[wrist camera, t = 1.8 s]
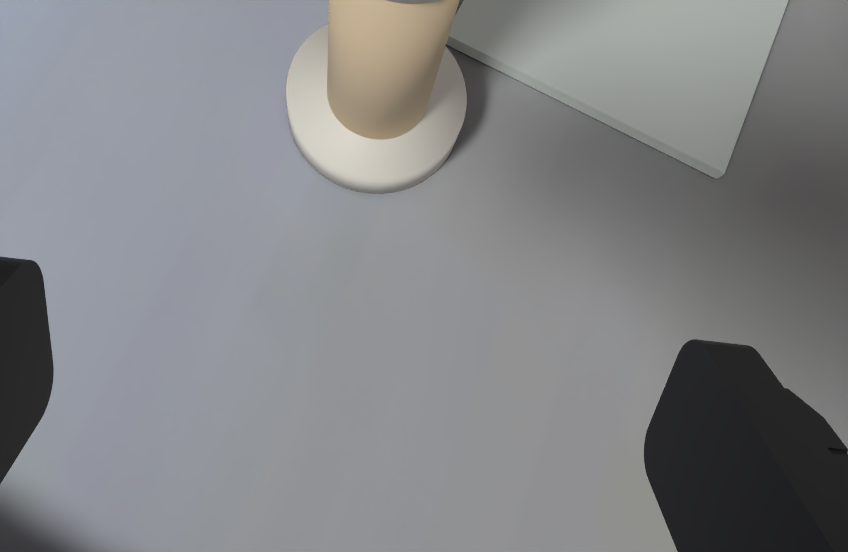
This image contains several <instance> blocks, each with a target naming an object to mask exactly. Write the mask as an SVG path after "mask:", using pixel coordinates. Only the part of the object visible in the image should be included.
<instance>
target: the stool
mask: <svg viewBox="0 0 848 552" xmlns="http://www.w3.org/2000/svg"><path fill="white" fill-rule="evenodd" d="M459 1H460V0H329V22H328V24H326V25H324V26H323V27H321V28H319V29H318V30H317V31H316V32H314V33H313V34H312V35H311V36H310V37H309V38H308V39H307V40H306V41H305V42H304V43H303V44H302V46H301V47H300V48H299V50H298V51H297V53H296V55H295V57H294V59H293V61H292V63H291V66H290V69H289V72H288V78H287V86H286V96H287V107H288V118H289V126H290V129H291V133H292V136H293V139H294V141H295V143H296V146H297V147H298V149H299V151H300V152H301V154H302V156H303V157H304V158H305V159H306V161H307V162H308V163H309V164H310V165H311V166H312V167H313V168H314V169H315V170H316V171H317V172H318V173H320V174H321V175H322V176H324V177H325V178H326V179H328V180H330V181H332V182H333V183H335V184H337V185H340V186H342V187H344V188H347V189H350V190H354V191H357V192H363V193H371V194H384V193H393V192H398V191H402V190H405V189H408V188H411V187H414V186H415V185H417V184H419V183H421V182H423V181H425V180H426V179H427V178H429V177H430V176H432V175H433V174H434V173H435V172H436V171H437V170H438V169H439V168H440V167H441V166H442V165H443V163H444V162H445V161H446V159H447V158H448V156H449V154H450V153H451V151H452V148H453V146H454V144H455V141H456V139H457V137H458V134H459V132H460V130H461V127H462V125H463V122H464V118H465V114H466V106H467V92H466V86H465V81H464V78H463V75H462V72H461V69H460V67H459V65H458V63H457V61H456V60H455V58H454V56H453V55H452V53H451V52H450V51H449V50H448V48H447V47H446V43H447V40H448V37H449V34H450V30H451V27H452V24H453V21H454V17H455V14H456V11H457V8H458V4H459Z"/></svg>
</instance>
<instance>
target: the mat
mask: <svg viewBox="0 0 848 552" xmlns="http://www.w3.org/2000/svg"><path fill="white" fill-rule="evenodd" d="M788 1H789V0H463V2H462V4H461V6H460V8H459V10H458V11H457V13H456V15H455V17H454V21H453V24H452V27H451V30H450V34H449V37H448V40H447V43H446V45H448V46H450V47H452V48H454V49H456V50H458V51H460V52H462V53H464V54H466V55H468V56H470V57H472V58H474V59H476V60H478V61H480V62H482V63H484V64H486V65H488V66H490V67H492V68H494V69H496V70H498V71H501V72H503V73H505V74H507V75H509V76H511V77H513V78H515V79H517V80H519V81H521V82H523V83H525V84H527V85H529V86H531V87H533V88H535V89H537V90H539V91H541V92H543V93H545V94H547V95H549V96H551V97H553V98H555V99H557V100H559V101H561V102H563V103H565V104H567V105H569V106H571V107H573V108H575V109H577V110H579V111H581V112H583V113H585V114H587V115H589V116H591V117H593V118H595V119H597V120H599V121H601V122H603V123H605V124H607V125H609V126H611V127H613V128H615V129H617V130H619V131H621V132H623V133H625V134H627V135H629V136H631V137H633V138H635V139H637V140H639V141H641V142H643V143H645V144H647V145H649V146H651V147H653V148H655V149H657V150H659V151H661V152H663V153H665V154H667V155H669V156H671V157H673V158H675V159H677V160H679V161H681V162H683V163H685V164H687V165H689V166H691V167H693V168H695V169H697V170H699V171H701V172H703V173H705V174H707V175H709V176H711V177H713V178H715V179H718V178H719V177H720V176H722V175H723V174H725V171H726V169H727V166H728V163H729V160H730V158H731V155H732V152H733V150H734V147H735V144H736V141H737V139H738V136H739V133H740V131H741V128H742V125H743V123H744V120H745V117H746V114H747V112H748V109H749V106H750V104H751V101H752V98H753V95H754V93H755V90H756V87H757V85H758V82H759V79H760V76H761V74H762V71H763V68H764V66H765V63H766V60H767V57H768V55H769V52H770V49H771V47H772V44H773V41H774V38H775V36H776V33H777V30H778V28H779V25H780V22H781V19H782V17H783V14H784V11H785V9H786V6H787V3H788Z"/></svg>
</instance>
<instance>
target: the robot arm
mask: <svg viewBox="0 0 848 552" xmlns="http://www.w3.org/2000/svg"><path fill="white" fill-rule="evenodd" d="M52 384H53V358H52V350H51V341H50V332H49V324H48V315H47V307H46V298H45V290H44V281H43V275H42V272H41V269H40V267H39V266H38V264H37V263H36V262H34V261H32V260H25V259H16V258H7V257H0V484H1V482H2V480H3V479H4V477H5V476H6V474H7V472H8V471H9V469H10V468H11V466H12V464H13V463H14V461H15V460H16V458H17V457H18V455H19V453H20V452H21V450H22V449H23V447H24V445H25V444H26V442H27V441H28V439H29V437H30V436H31V434H32V433H33V431H34V429H35V428H36V426H37V425H38V423H39V421H40V420H41V418H42V416H43V414H44V412H45V410H46V407H47V405H48V402H49V398H50V394H51V390H52ZM847 451H848V449H847V448H846V446H845V445H844V444H843V442H842V441H841V440H840V438H839V437H838V436H837V435H836V433H835V432H834V431H833V429H832V428H831V427H830V425H829V424H828V423H827V421H826V420H825V419H824V417H822V416H821V415H820V414H819V413H817V412H816V411H815V410H814V409H812V408H811V407H810V406H809V405H807V404H806V403H805V402H804V401H802V400H801V399H800V398H799V397H798V396H796V395H795V394H794V393H793V392H791V391H790V390H789V389H786V388H784V387H783V386H782V385H781V383H780V382H779V380H778V379H777V378H776V376H775V375H774V374H773V372H772V371H771V369H770V368H769V367H768V365H767V364H766V363H765V361H764V360H763V358H762V357H761V356H760V354H759V353H758V352H757V351H756V350H755V349H754V348H753V347H750V346H747V345H738V344H730V343H721V342H713V341H704V340H690V341H688V342H687V343H685V345H684V346H683V347H682V348H681V350H680V352H679V354H678V356H677V358H676V361H675V363H674V366H673V368H672V371H671V373H670V375H669V378H668V380H667V383H666V385H665V388H664V390H663V393H662V395H661V397H660V400H659V402H658V405H657V407H656V410H655V412H654V414H653V417H652V419H651V422H650V424H649V427H648V430H647V433H646V437H645V444H644V462H645V469H646V473H647V476H648V479H649V482H650V484H651V487H652V489H653V492H654V494H655V497H656V499H657V502H658V504H659V507H660V509H661V512H662V514H663V517H664V519H665V521H666V524H667V526H668V529H669V531H670V534H671V536H672V539H673V541H674V544H675V546H676V549H677V551H678V552H848V454H847Z"/></svg>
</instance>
